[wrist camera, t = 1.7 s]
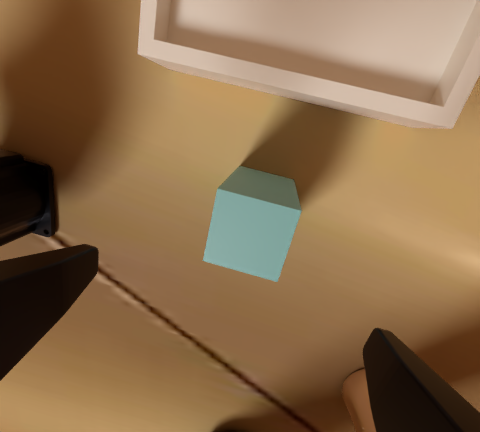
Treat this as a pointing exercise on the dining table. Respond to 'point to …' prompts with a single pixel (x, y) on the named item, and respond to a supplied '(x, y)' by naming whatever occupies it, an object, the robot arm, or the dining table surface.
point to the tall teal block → (253, 223)
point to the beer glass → (358, 401)
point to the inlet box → (327, 51)
